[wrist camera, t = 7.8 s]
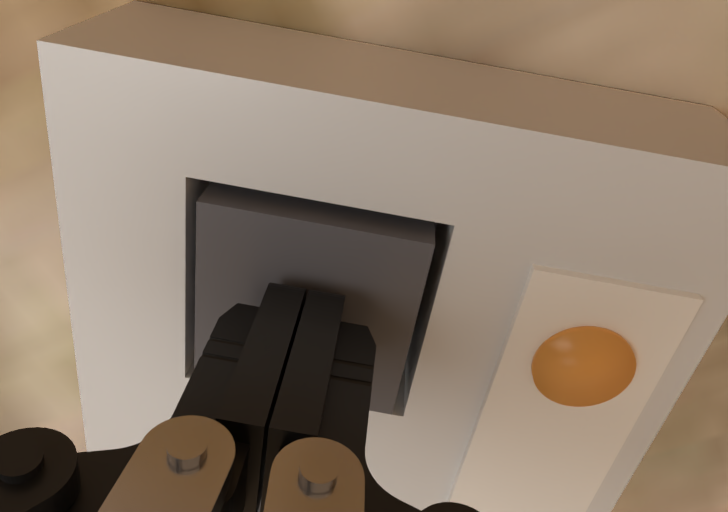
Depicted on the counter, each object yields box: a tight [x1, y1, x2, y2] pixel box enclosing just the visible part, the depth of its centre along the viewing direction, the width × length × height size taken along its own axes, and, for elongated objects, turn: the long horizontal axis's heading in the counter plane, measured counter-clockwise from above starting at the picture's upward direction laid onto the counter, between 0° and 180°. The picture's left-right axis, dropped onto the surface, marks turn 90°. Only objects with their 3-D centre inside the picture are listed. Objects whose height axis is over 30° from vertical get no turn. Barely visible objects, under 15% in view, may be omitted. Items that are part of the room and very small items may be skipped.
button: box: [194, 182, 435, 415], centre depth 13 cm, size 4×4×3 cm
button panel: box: [37, 1, 728, 512], centre depth 18 cm, size 25×13×4 cm, turn 171°
